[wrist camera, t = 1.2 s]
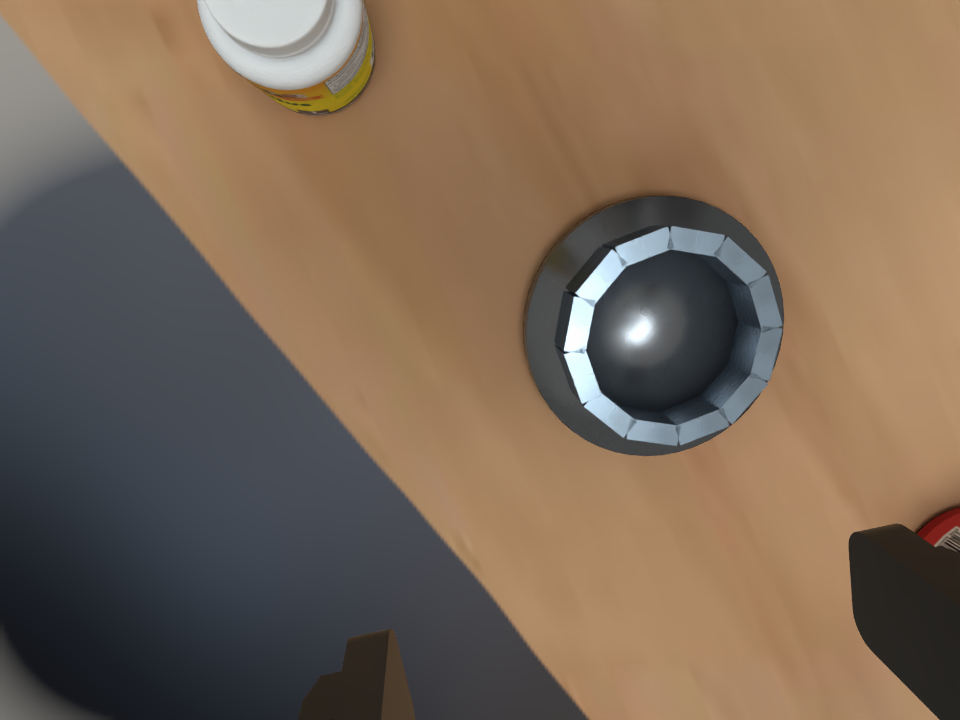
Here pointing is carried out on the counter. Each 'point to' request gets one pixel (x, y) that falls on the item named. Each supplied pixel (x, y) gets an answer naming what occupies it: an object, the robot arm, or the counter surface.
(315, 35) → the supplement bottle
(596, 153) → the counter surface
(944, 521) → the canned food
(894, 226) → the counter surface
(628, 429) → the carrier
